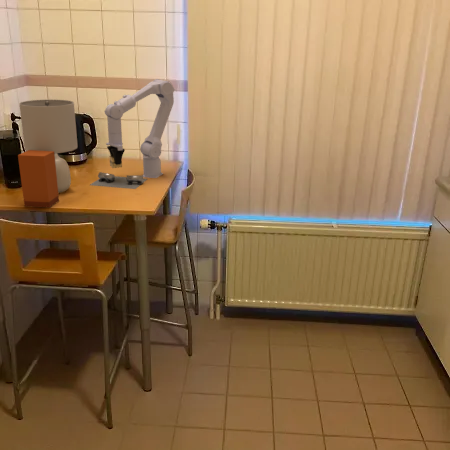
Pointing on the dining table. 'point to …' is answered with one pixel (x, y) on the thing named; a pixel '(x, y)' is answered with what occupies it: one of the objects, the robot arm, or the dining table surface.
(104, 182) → the mat
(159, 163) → the robot arm
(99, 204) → the dining table surface
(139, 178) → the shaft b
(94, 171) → the dining table surface
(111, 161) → the tan rectangular block
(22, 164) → the tall terracotta brick
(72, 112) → the lamp
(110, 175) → the shaft
